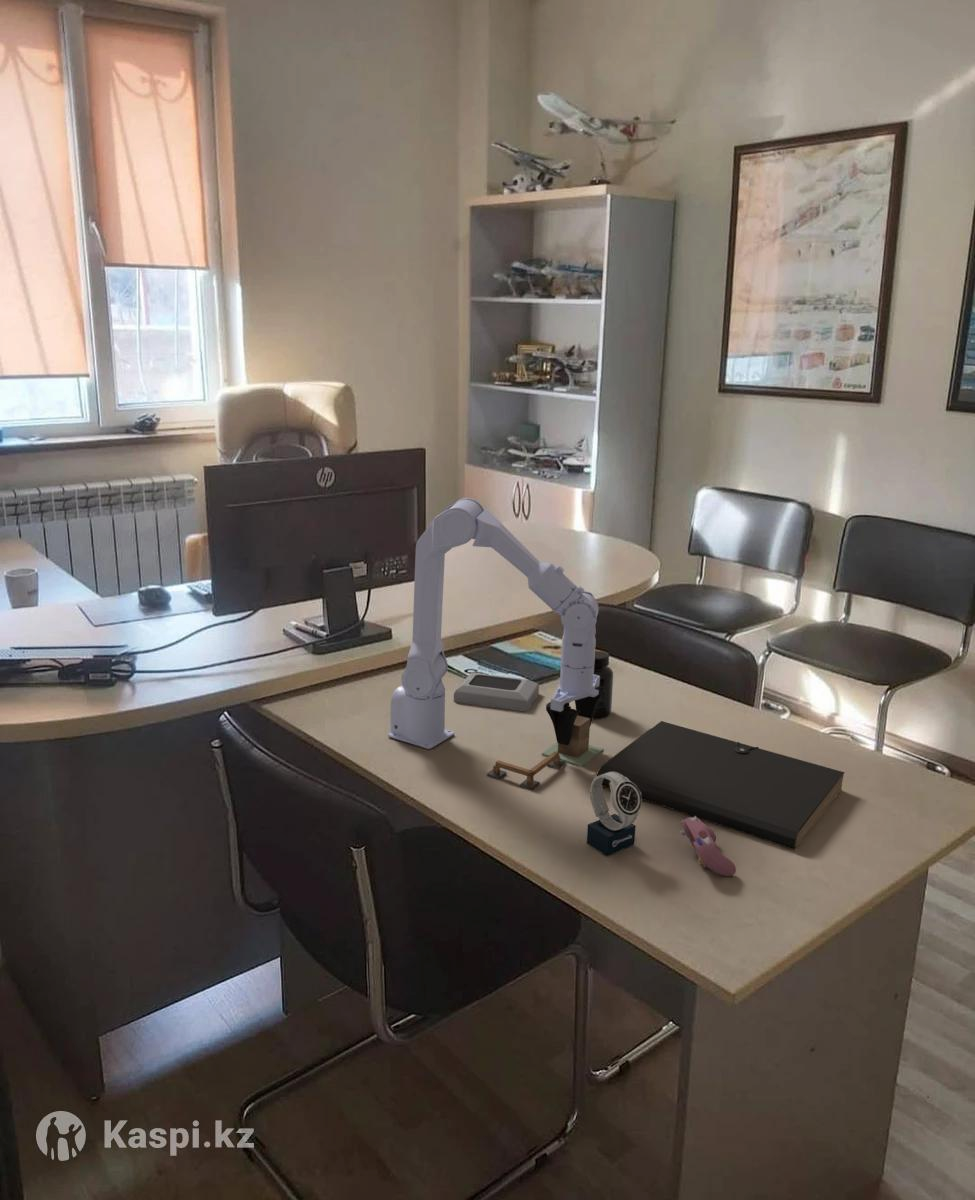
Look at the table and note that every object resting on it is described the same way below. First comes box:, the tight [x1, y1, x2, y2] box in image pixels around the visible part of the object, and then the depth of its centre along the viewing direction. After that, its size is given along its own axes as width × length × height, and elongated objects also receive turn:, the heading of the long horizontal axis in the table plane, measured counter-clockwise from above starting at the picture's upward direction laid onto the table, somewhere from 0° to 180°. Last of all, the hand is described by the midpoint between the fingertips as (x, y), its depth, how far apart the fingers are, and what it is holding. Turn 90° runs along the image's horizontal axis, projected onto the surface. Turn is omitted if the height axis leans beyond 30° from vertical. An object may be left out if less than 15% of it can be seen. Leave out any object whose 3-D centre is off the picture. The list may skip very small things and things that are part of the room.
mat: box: [541, 742, 604, 768], centre depth 173 cm, size 8×8×1 cm
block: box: [558, 715, 591, 758], centre depth 172 cm, size 4×4×6 cm
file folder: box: [596, 720, 845, 850], centre depth 161 cm, size 33×4×24 cm
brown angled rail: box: [486, 751, 567, 791], centre depth 166 cm, size 9×11×2 cm
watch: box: [586, 772, 643, 857], centre depth 142 cm, size 6×8×11 cm
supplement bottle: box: [593, 650, 614, 720], centre depth 188 cm, size 7×7×12 cm
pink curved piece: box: [680, 816, 737, 877], centre depth 139 cm, size 10×5×7 cm, turn 6°
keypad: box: [453, 672, 540, 712], centre depth 196 cm, size 10×4×15 cm
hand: (573, 735), depth 172 cm, fingers open, 7 cm apart
